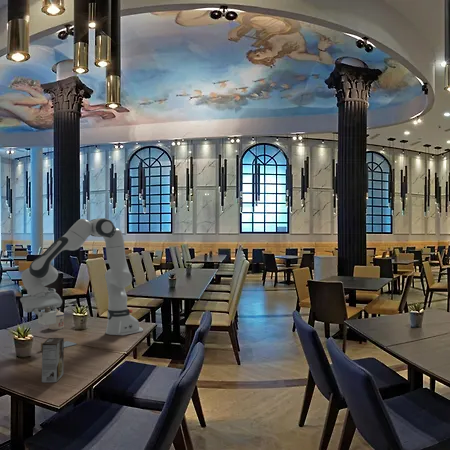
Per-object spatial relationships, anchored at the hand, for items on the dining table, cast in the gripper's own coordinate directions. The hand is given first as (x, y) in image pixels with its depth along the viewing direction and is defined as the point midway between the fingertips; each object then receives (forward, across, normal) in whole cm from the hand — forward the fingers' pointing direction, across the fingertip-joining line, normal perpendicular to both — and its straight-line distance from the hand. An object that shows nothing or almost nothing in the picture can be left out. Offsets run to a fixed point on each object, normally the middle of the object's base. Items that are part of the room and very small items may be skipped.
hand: (48, 315), depth 214 cm
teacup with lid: (-15, +30, +41) cm, 53 cm away
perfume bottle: (+3, 0, +4) cm, 5 cm away
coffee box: (+41, -21, -15) cm, 49 cm away
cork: (+12, -2, +13) cm, 18 cm away
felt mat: (+12, +10, +14) cm, 21 cm away
